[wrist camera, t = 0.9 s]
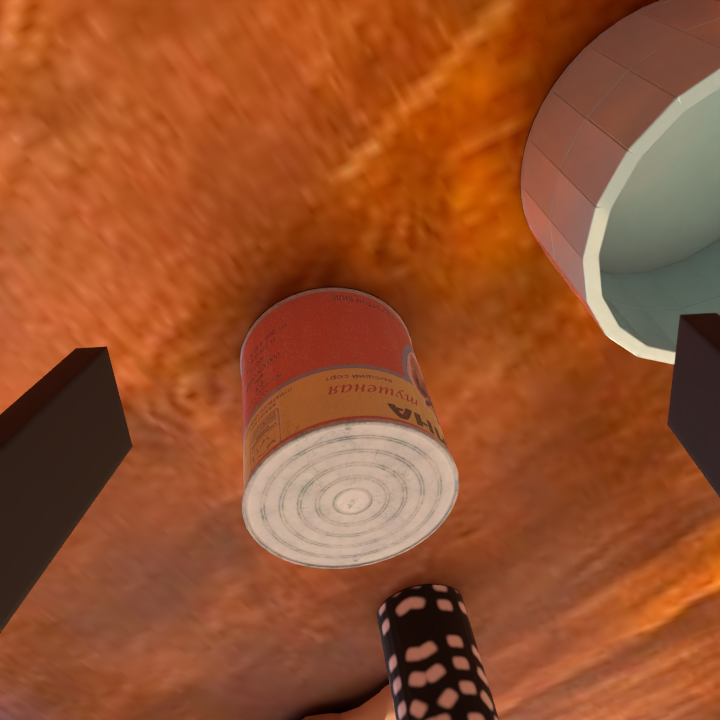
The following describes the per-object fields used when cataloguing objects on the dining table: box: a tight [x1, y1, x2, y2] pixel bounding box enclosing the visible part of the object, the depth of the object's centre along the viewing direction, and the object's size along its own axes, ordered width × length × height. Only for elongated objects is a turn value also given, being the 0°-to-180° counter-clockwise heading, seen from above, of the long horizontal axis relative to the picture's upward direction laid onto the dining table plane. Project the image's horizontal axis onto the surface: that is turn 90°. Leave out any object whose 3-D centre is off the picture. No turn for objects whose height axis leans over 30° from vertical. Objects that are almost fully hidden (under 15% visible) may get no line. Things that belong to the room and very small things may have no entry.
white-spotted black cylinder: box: [377, 585, 499, 720], centre depth 56 cm, size 8×8×20 cm
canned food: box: [240, 288, 459, 569], centre depth 39 cm, size 11×11×12 cm
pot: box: [521, 0, 720, 364], centre depth 35 cm, size 17×17×9 cm
